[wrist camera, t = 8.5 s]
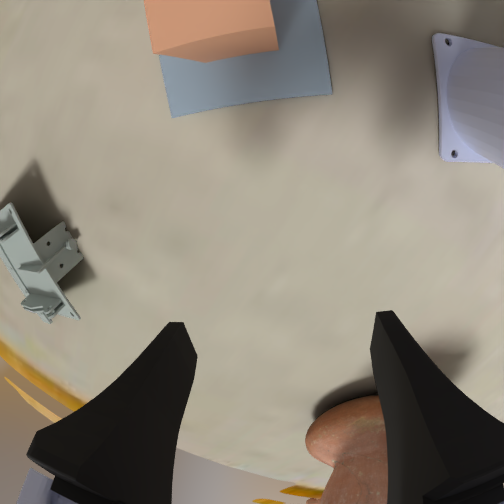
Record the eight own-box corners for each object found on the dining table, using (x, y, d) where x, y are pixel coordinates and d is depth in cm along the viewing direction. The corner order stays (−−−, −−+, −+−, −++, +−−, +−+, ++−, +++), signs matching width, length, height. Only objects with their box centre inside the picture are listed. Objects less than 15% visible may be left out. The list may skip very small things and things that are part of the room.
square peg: (266, -13, 11) (253, -68, 5) (279, 50, 13) (274, 26, 7) (193, 1, 12) (138, -37, 6) (205, 62, 14) (153, 53, 8)
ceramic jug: (337, 445, 37) (341, 529, 25) (272, 418, 32) (265, 527, 20) (449, 395, 29) (474, 488, 17) (411, 350, 24) (447, 487, 12)
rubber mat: (304, -45, 10) (304, -47, 10) (331, 94, 14) (332, 94, 14) (149, -14, 11) (147, -15, 11) (173, 117, 16) (172, 118, 16)
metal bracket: (-18, 188, 13) (86, 354, 20) (43, 152, 18) (125, 307, 25) (-36, 219, 20) (30, 328, 27) (1, 192, 24) (60, 297, 32)
